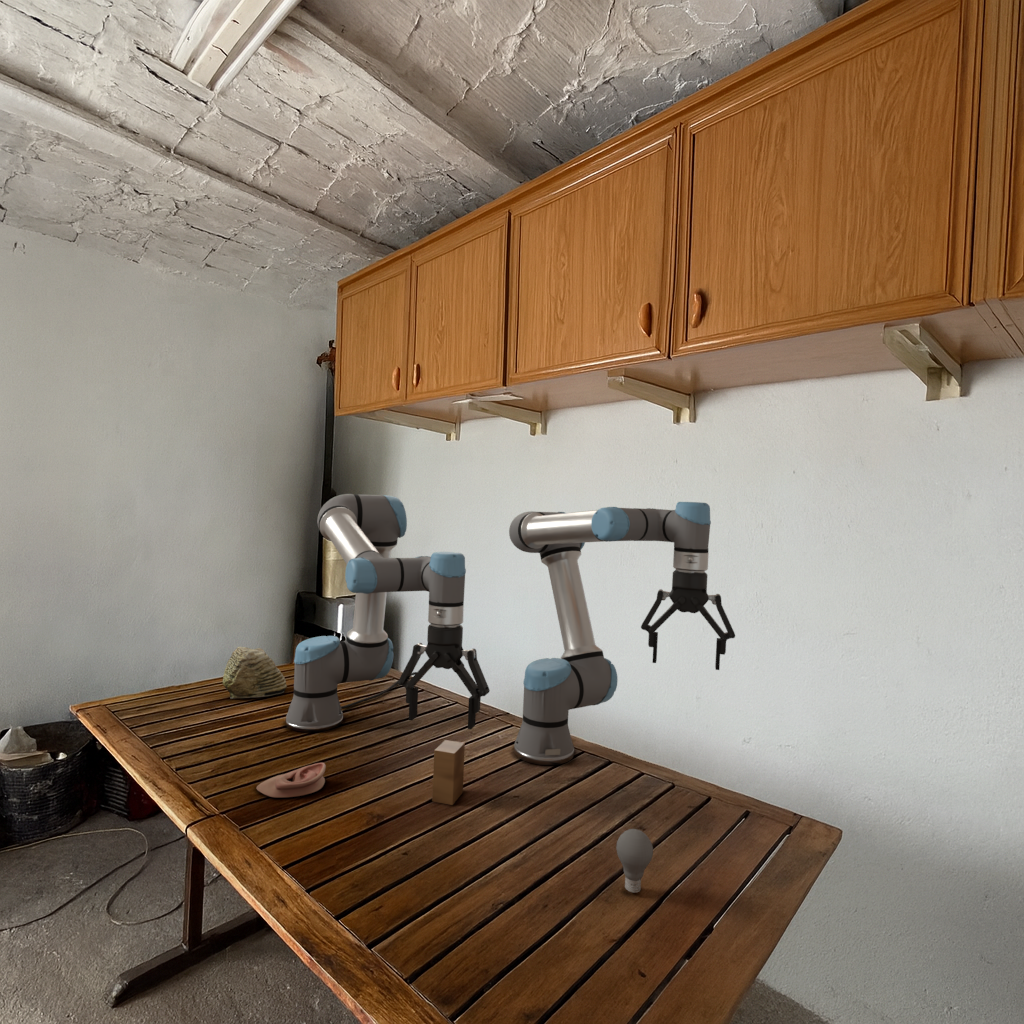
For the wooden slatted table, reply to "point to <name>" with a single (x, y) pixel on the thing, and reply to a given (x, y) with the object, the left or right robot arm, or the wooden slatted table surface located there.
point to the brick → (448, 772)
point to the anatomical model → (295, 782)
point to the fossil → (252, 674)
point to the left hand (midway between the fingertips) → (441, 723)
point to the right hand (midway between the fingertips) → (685, 665)
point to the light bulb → (634, 857)
